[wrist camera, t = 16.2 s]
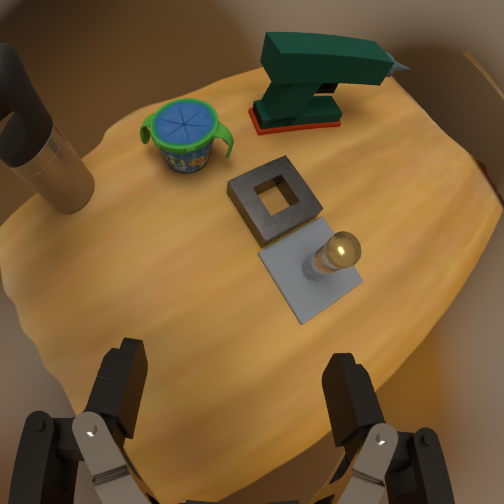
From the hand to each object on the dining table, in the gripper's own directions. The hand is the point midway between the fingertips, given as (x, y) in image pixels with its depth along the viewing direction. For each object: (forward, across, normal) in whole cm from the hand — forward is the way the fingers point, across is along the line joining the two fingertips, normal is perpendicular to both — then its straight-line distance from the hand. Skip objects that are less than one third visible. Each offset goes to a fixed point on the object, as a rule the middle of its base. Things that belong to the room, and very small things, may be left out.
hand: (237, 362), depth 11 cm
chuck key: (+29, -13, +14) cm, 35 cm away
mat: (+30, -13, +14) cm, 35 cm away
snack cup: (+42, +9, +1) cm, 43 cm away
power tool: (+53, -17, -10) cm, 57 cm away
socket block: (+37, -6, +7) cm, 38 cm away
